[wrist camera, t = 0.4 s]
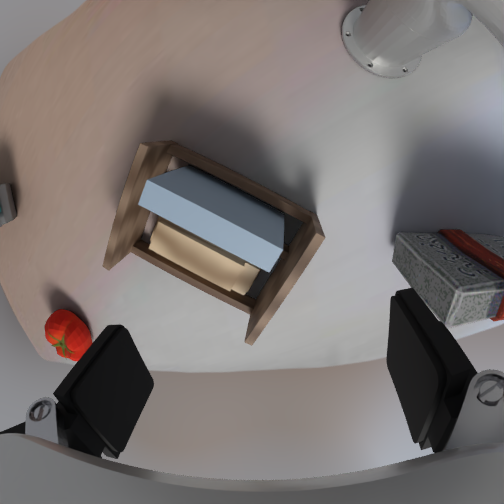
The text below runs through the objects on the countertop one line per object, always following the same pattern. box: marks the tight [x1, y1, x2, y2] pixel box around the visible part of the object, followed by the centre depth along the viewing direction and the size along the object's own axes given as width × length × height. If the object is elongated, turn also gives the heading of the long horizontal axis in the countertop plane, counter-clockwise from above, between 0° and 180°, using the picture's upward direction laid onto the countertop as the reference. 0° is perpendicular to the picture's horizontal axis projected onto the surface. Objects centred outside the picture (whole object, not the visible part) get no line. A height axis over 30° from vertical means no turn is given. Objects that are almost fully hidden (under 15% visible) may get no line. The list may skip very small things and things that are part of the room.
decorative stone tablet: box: [392, 230, 504, 329], centre depth 32 cm, size 19×6×30 cm
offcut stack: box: [149, 216, 261, 295], centre depth 44 cm, size 6×18×5 cm, turn 63°
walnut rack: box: [103, 140, 325, 345], centre depth 40 cm, size 19×24×10 cm
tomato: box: [45, 309, 92, 361], centre depth 54 cm, size 13×12×8 cm
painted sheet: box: [138, 165, 285, 272], centre depth 36 cm, size 3×16×14 cm, turn 63°
